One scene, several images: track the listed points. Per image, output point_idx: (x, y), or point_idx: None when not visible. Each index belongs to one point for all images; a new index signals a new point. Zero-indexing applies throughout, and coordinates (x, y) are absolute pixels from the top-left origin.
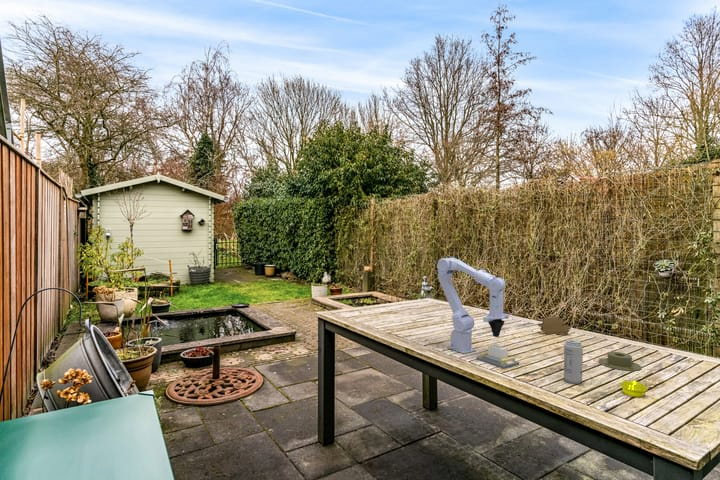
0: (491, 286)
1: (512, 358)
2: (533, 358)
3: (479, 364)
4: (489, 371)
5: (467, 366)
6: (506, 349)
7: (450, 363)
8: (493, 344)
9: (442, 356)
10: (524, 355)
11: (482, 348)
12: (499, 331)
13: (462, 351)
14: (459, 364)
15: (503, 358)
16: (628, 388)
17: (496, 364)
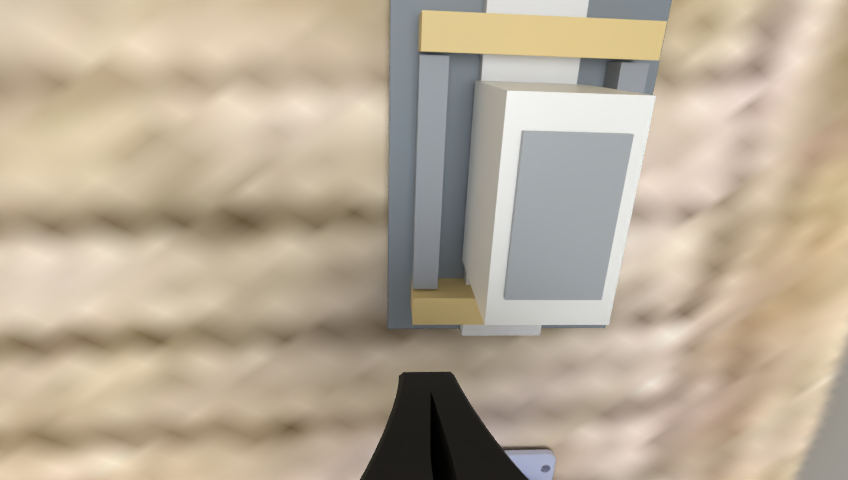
0: None
1: (472, 13)
2: (31, 16)
3: (701, 214)
4: (826, 29)
5: (824, 234)
6: (529, 91)
7: (842, 349)
8: (517, 310)
9: (729, 475)
10: (54, 148)
11: (288, 473)
12: (417, 429)
13: (537, 478)
14: (819, 300)
15: (557, 84)
16: None
17: (651, 87)
